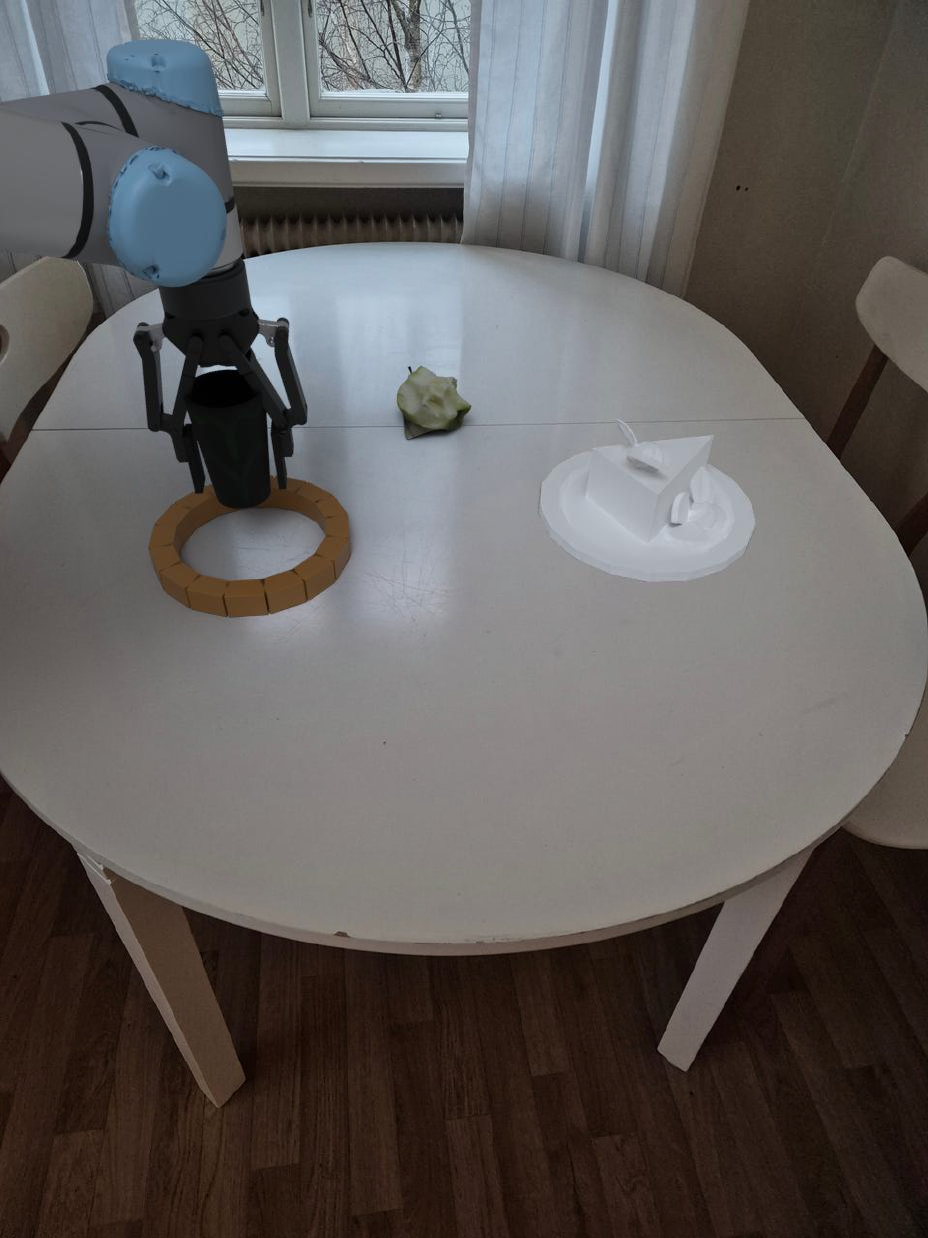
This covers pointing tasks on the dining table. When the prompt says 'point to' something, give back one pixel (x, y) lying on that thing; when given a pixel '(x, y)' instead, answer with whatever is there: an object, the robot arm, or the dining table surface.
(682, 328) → the dining table surface
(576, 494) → the dish
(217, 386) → the cup
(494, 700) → the dining table surface
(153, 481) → the dining table surface
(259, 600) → the orange-brown segmented ring
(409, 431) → the fruit
